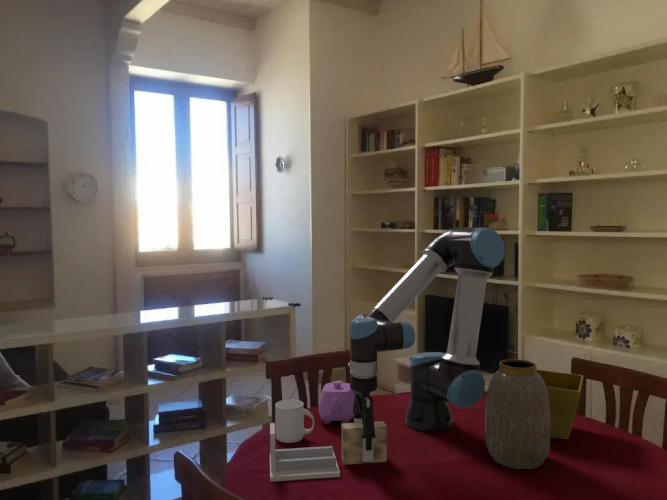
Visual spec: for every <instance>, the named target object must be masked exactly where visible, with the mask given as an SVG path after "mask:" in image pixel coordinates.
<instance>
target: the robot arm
mask: <svg viewBox="0 0 667 500" xmlns="http://www.w3.org/2000/svg"><path fill="white" fill-rule="evenodd" d="M504 243H505V242H504V240H503V239H502V238H501V236H500V234H499V233H498V232H497V231H496V230H494V229H493V228H489V227H481V226H480V227H479V226H478V227H476V226H475V227H463V226H462V227H461V226H460V227H459V226H458V227H453V228H449V229H447V230H446V231H444V232H442V233H441V234H440V235H438V236H437V237H435V238H434V239H433V240H432V241H431V242H430V243H429V244H428V245H427V246H426V247H425V248H424V249H423V250H422V253H421V257H419V259H418V260H417V261H416V262H415V263H414V264H413V266H411V268H409V270H407V271H406V273H405V274H404V275H403V276H402V277H401V278H400V279H399V280H398V281H397V282H396V283H395V284H394V285H393V287H392V288H391V289H389V291H388V292H387V293H386V294H385V295H383V297H382V298H381V299H380V300H379V301H378V302H377V303H376V304H375V305H374V306H373V307H372V309H370V311H369V312H367V314H366V313H365V314H364V313H363V314H359V315H357V316H355V318H354V319H352V320H351V322H350V326H349V362H350V363H349V362H348V364H347V367H349V374H350V376H349V384H350V389H351V390H353V392H354V405H353V413H354V416H353V420H354V421H353V423H361V422H362V424H363V433H364V435H362V436H361V438H363V462H367V461H373V438H375V428H374V422H375V418H374V408H373V407H374V404H373V403H374V400H373V398H372V396H370V395H371V394H370V393H371V392H374V391H376V390H377V389H378V376H377V374H378V353H381V352H388V351H389V352H390V351H398V350H402V351H403V350H404V349H409V348H411V347H412V346H414V344H415V342H416V332H415V329H414V327H413V325H412V324H411V323H410V322H407V321H405V322H402V321H399V322H395V321H396V320H397V319H398V317H400V316H401V314H402V313H403V312H404V311H405V310H406V309H407V308H408V307H409V306H410V304H412V303H413V301H414V300H415V299H416V298H418V297H419V295H420V294H421V293H422V292H423V291H424V290H425V288H427V286H428V285H429V284H430V283H432V281H433V280H434V279H435V278H436V277H437V276H438V275H439V274H440V273H444V272H446V271H447V270H448V268H450V267H451V266H453V265H454V270H455V272H456V273H457V280H456V281H457V283H456V289H455V294H454V304H453V308H452V315H451V316H452V317H451V321H450V322H451V323H450V327H449V328H450V330H449V336H448V337H449V338H448V342H447V348H446V349H447V350H446V352H440V351H439V352H438V351H437V352H436V351H434V352H433V351H428V352H419V353H415V354H414V355H412V356H411V358H410V366H409V368H410V371H409V373H410V399H409V404H408V406H407V408H406V412H405V416H404V421H405V422H404V423H405V425H406V426H408V427H410V428H412V429H414V430H418V431H422V432H441V431H445V430H449V429H450V428H451V427H452V426H453V416H452V413H451V410H450V407H449V404H450V405H452V406H455V407H456V406H457V407H460V408H470V407H473V406H474V405H476V404H477V402H479V401H480V400H481V398H482V397H483V394H484V392H485V388H486V380H485V378H484V375H483V374H482V373H481V371H480V366H481V365H480V364H481V363H480V361H479V360H478V359H477V357H476V356H477V351H478V350H477V349H478V343H479V335H480V330H481V329H480V328H481V322H482V315H483V309H484V302H485V301H484V300H485V297H486V296H485V294H486V288H487V282H488V278H490V277H491V276H493V275H494V270H495V268H496V267H498V266H499V265H500V264H501V262H503V261H504V256H505V244H504ZM448 403H449V404H448Z"/></svg>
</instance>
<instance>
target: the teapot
mask: <svg viewBox="0 0 667 500" xmlns="http://www.w3.org/2000/svg"><path fill="white" fill-rule="evenodd" d="M354 395H355V392H354V391H353V390H351V389H350V382H349V383H348V382H344V381H343V380H335V381H333V382H327V383H325V384H324V385H323V387H322V390H321V394H320V396H319V401H318V415H319V416H320V418H321V420H323V424H331V423H332V422H341V424H343V423H351V422H350V421H351V420H352V419H354V413H353V405H354Z"/></svg>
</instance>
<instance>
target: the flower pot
mask: <svg viewBox="0 0 667 500" xmlns="http://www.w3.org/2000/svg"><path fill="white" fill-rule="evenodd" d="M536 372H537V373H538V374H539V375H540V376H541V377H542V378H543V380H544V382H545V384H546V387H547V390H548V396H549V403H550V418H551V437H552V438H551V439H553V438H561V439H568V440H569V437H570V435H571V432H572V429H573V426H574V423H575V419H576V415H577V411H578V407H579V402H580V399H581V393H582V388H583V383H584V375H583V374H576V373H568V372H560V371H559V372H558V371H552V370H544V369H536Z"/></svg>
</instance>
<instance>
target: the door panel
mask: <svg viewBox="0 0 667 500" xmlns="http://www.w3.org/2000/svg"><path fill="white" fill-rule="evenodd" d="M340 424H341V425H340V429H341V430H340V434H341V436H340V437H341V441H340V442H341V443H340V445H341V461H342V463H343V465H357V464H361V465H362V464H372V463H375V464H376V463H386V462H387V461H388V458H387V457H388V456H387V455H388V454H387V453H388V451H387V444H388V443H387V442H388V441H387V438H388V437H387V435H388V434H387V432H388V431H387V424H386V423H385V421H383V420H382V421H381V420H380V421H374V428H375V438H373V461H367V462H363V438H361V436H362V435H364V433H363V424H362V422H361V423H354V422H350V423H340Z"/></svg>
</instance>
